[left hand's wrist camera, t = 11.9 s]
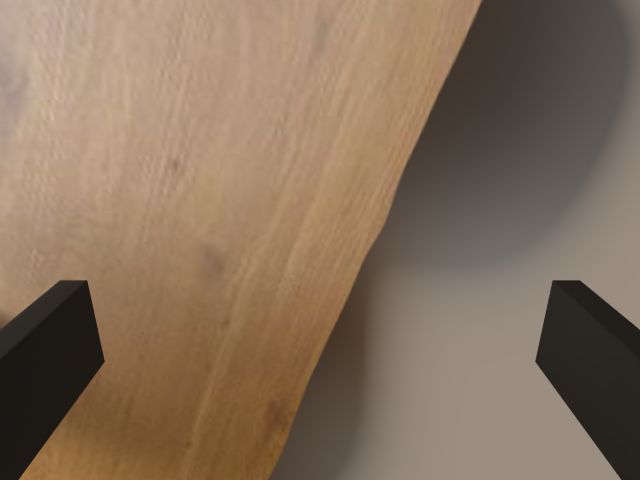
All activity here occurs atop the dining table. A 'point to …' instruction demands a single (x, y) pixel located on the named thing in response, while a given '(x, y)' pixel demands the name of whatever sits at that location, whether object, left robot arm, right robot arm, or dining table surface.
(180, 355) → the dining table surface
